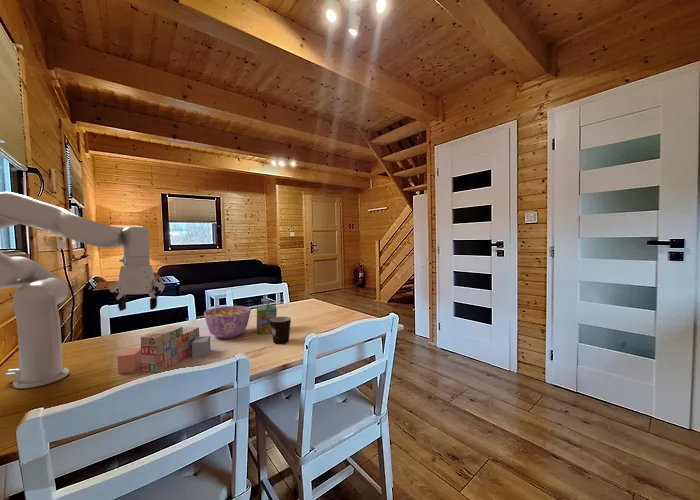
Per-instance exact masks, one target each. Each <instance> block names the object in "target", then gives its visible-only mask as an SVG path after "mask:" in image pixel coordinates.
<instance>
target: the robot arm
mask: <svg viewBox="0 0 700 500" xmlns="http://www.w3.org/2000/svg"><path fill="white" fill-rule="evenodd" d="M19 224H20V225H23V226H27V227H30V228H33V229H37V230H40V231H44V232H46V233H49V234H52V235H53V234H54V235H55V236H60V237H63V238H67V239H69V240H71V241H76V242H78V243H82V244H86V245H89V246H93V247H97V248H100V249H109V248H111V249H112V248H119V247H123V257H122V258H119V259H118V262H119V263H122V265H121V266H120V269H119V273H118V274H119V275H118V283H115V284H113V285H111V286H109V287H108V289H109V292H110V293H111V295H112V296H114V298H115V299H116V300H117V308H118V311H119V312H121V311H122V312H123V311H125V310H126V309H127V299H126V296H127V295H145V294H147V295H149V297H150V299H149V309H150V310H151V311H152V310H154V309H156V308H157V307H158V297H159V296H160V295H161V294H162V293H163V291H164V289H165V287H166V286H165V284H163V283H161V282H158V281H157V280H155V273H154V269H153V266H152V264H150V263H151V261H150V231H149V229H148V228H147V227H144V226H126V227H122V226H121V227H120V226H114V225H107V224H104V223H100V222H97V221H94V220H92V219H91V220H90V219H88V218H85V217H82V216H79V215H77V214H74V213H72V212H71V211H69V210H67V209H65V208H62V207H60V206H56V205H53V204H50V203H48V202H47V203H46V202H43V201H40V200H38V199H34V198H33V197H30V196H27V195H24V194H19V193H16V192H10V191H3V192H0V230H2V229H6V228H9V227H12V226H13V227H14V226H17V225H19ZM156 287H157V288H158V290H156V291H155V288H156ZM9 288H15V289H17V290H16V291H15V293H14V295H13V297H12V307H13V311H14V314H15V320H16V327H17V329H16V330H17V341H18V342H17V343H18V363H19V368H10V369H8V370H7V371H6V373H5V378H6V379H8V378H15V380H14V381H13V382H12V387H13V388H15V389H32V388H36V387H37V388H38V387H42V386H44V385H48V384H52V383H55V382H57V381H60V380H62V379H64V378H65V377H67V376H68V375H69V374H70V369H69V368H67V367H63V349H62V348H63V347H62V331H61V317H60V313H59V309H58V305H59V304H61V303H62V302H63V301H65V300H66V299H67V297H68V295H69V287H68V284H66V282H65V281H63V280H62V279H61V278H60V277H58V276H56V275H55V274H54V273H52V272H51V271H50V270H48V269H47V268H45V267H44V266H42V265H41V264H39V263H38V262H36V261H35V260H33V259H30V258H29V257H25V256H17V255H16V256H9V255H7V254H5V253H3V252H2V251H0V290H3V289H4V290H5V289H9Z"/></svg>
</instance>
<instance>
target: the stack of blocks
mask: <svg viewBox="0 0 700 500" xmlns="http://www.w3.org/2000/svg"><path fill="white" fill-rule="evenodd" d="M200 335H201V334H200V327H197V326H184V327H183V326H177V325H176V326H175V325H174V326H173V325H167V326H165V327H163V328H159V329H156V330H154V331H153V332H152V331H151V332H150V333H146V334H144V335H142V336H140V347H141V358H142V366H141V372H143V373H155V374H157V373H160V372H162V371H163V370H166V369H167V368H170V367H171V366H173V365H175V364H176V363H178V362H181V360H184V359H185V358H187V357H188V356H191V355H192V342H193V341H194V340H195V338H196V337H201V336H200Z"/></svg>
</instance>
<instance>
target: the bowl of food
mask: <svg viewBox="0 0 700 500" xmlns="http://www.w3.org/2000/svg"><path fill="white" fill-rule="evenodd" d="M251 310H252V309H251V307H249V306H245V305H244V306H243V305H231V306H220V307H214V308H211V309H209V310H208V309H207V310H205V311H204V312H203V315H204V320H205V322H206V326H207V330H208V332H209V333H210V334H211V335H212V336H214V337H218V338H219V339H232V338H235V337H238V335H240V334H241V333H243V332H245V330H246V328H247V327H248V324H249V319H250V316H251V315H250V314H251Z"/></svg>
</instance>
